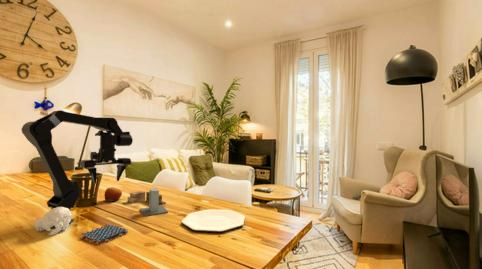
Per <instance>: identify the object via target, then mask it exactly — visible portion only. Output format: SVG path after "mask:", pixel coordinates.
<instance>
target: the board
mask: <svg viewBox="0 0 482 269" xmlns="http://www.w3.org/2000/svg"><path fill="white" fill-rule="evenodd" d="M149 192H150V195H149V202H148V203H149V204H148V208H149V210H150V211H151V212H156V211H158V207H159V206H160V205H159V195H160V194H159V193H160V191H159V189H158V188H156V187H155V188H149Z"/></svg>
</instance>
